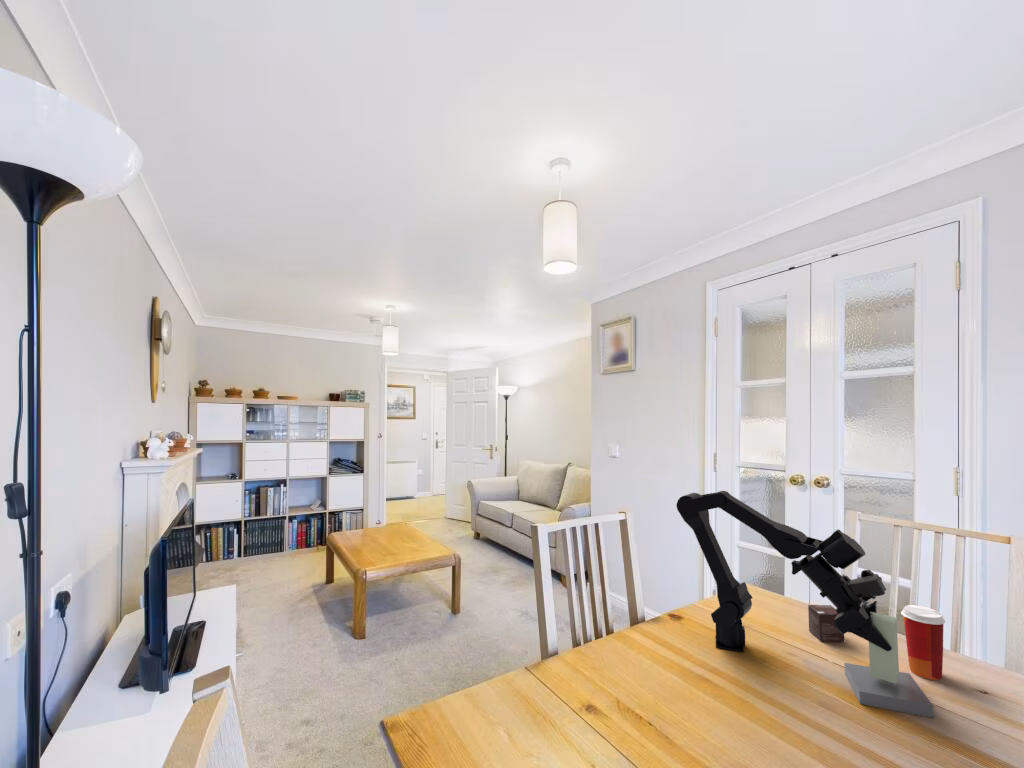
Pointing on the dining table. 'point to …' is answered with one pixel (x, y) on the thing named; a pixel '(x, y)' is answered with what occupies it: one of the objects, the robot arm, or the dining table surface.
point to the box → (824, 623)
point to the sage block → (880, 659)
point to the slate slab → (888, 691)
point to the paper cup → (924, 641)
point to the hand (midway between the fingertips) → (891, 645)
